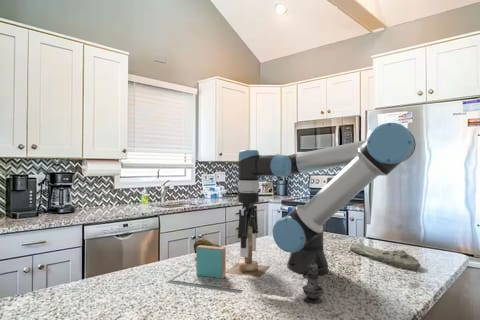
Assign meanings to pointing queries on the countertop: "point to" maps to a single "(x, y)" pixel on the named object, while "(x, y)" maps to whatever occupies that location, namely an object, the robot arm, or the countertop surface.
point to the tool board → (258, 273)
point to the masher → (249, 257)
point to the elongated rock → (387, 256)
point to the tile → (211, 261)
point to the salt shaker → (312, 285)
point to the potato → (204, 243)
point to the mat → (202, 285)
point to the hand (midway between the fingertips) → (248, 253)
